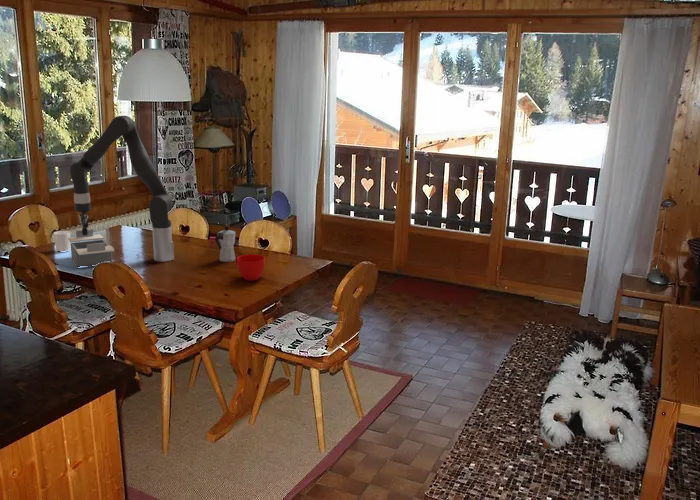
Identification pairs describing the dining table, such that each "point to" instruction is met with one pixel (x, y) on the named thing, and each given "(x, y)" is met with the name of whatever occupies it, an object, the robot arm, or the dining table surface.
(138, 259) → the dining table surface
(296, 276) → the dining table surface
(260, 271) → the ceramic cup
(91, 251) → the near panel
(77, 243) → the box
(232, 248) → the coffee maker
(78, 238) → the far panel
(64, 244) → the white cup
